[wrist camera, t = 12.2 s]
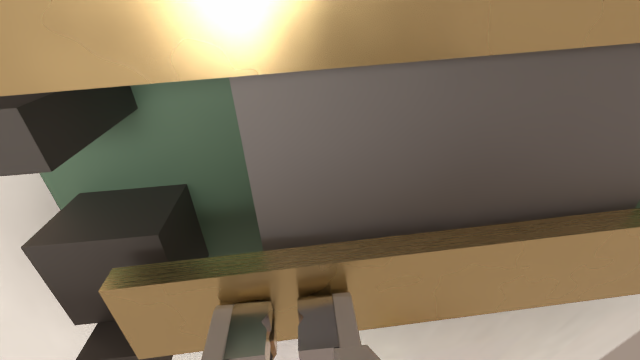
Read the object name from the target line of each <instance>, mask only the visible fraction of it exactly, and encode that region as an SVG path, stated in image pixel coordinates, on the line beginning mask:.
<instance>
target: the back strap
mask: <svg viewBox="0 0 640 360" xmlns="http://www.w3.org/2000/svg"><path fill="white" fill-rule="evenodd" d="M98 292H99V293H100V295H101V297H102V298H103V300H104V302H105V304H106V305H107V307H108V309H109V310H110V312H111V314H112V315H113V317H114V319H115V320H116V322H117V324H118V326H119V327H120V329H121V331H122V332H123V334H124V336H125V337H126V339H127V341H128V342H129V344H130V346H131V348H132V349H133V351H134V353H135V354H136V356H137V358H138V359H146V358H153V357H161V356H169V355H176V354H184V353H192V352H199V351H204V347H205V343H206V339H207V335H208V331H209V327H210V323H211V319H212V315H213V311H214V309H215V308H216V306H218V305H229V304H240V303H253V302H266V301H271V304H272V309H273V312H272V318H273V319H275V324H276V332H277V341H283V340H291V339H298V325H299V318H298V306H297V301H298V298H299V297H307V296H316V295H324V294H336V293H346V292H350V294H351V297H352V302H353V307H354V312H355V317H356V321H357V326H358V331H359V330H367V329H375V328H382V327H390V326H398V325H405V324H413V323H420V322H428V321H436V320H443V319H451V318H459V317H466V316H474V315H482V314H489V313H497V312H504V311H512V310H520V309H527V308H535V307H543V306H550V305H558V304H565V303H573V302H581V301H588V300H596V299H604V298H611V297H619V296H627V295H634V294H640V208H634V209H625V210H617V211H608V212H599V213H590V214H582V215H573V216H564V217H556V218H547V219H538V220H529V221H521V222H512V223H503V224H495V225H486V226H477V227H468V228H460V229H451V230H442V231H434V232H425V233H416V234H408V235H399V236H390V237H381V238H373V239H364V240H355V241H347V242H338V243H329V244H320V245H312V246H303V247H294V248H286V249H277V250H268V251H259V252H251V253H242V254H233V255H225V256H216V257H207V258H199V259H190V260H181V261H172V262H164V263H155V264H146V265H138V266H129V267H120V268H112V270H111V272H110V273H109V275H108V276H107V278H106V280H105V281H104V283H103V284H102V286H101V288H100V289H99V291H98Z"/></svg>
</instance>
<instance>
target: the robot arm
mask: <svg viewBox="0 0 640 360" xmlns="http://www.w3.org/2000/svg"><path fill="white" fill-rule="evenodd" d="M297 306H298V318H299V325H298V350H299V358H300V360H380V358H379V357H378V356H377V355H376V354H375V353H374V352H373V351H372V350H371V349H370V348H369V347H368V346H367V345H361V341H360V336H359V331H358V326H357V321H356V317H355V312H354V307H353V302H352V297H351V294H350V292H346V293H336V294H324V295H316V296H307V297H299V298H298V301H297ZM272 312H273V309H272V304H271V301H266V302H253V303H240V304H229V305H218V306H216V308H215V309H214V311H213V315H212V319H211V323H210V327H209V331H208V335H207V339H206V343H205V347H204V351H203V355H202V359H201V360H274V357H275V356H276V354H277V332H276V324H275V319H273V318H272Z"/></svg>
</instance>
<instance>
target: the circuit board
mask: <svg viewBox="0 0 640 360" xmlns="http://www.w3.org/2000/svg"><path fill="white" fill-rule="evenodd" d="M33 173H40V175H41V177H42V178H43V180H44V182H45V184H46V185H47V187H48V189H49V191H50V192H51V194H52V196H53V198H54V199H55V201H56V203H57V205H58V206H59V208H60V210H61V211H60V212H59V213H57V214H56V215H55V216H54V217H53V218H52V219H51V220H50V221H49V222H48V223H47V224H46V225H44V226H43V227H42V228H41V229H40V230H39V231H38V232H37V233H36V234H35V235H34V236H33V237H32V238H30V239H29V240H28V241H27V242H26V243H25V244H24V245H23V246H22V247H21V249H22V250H23V252H24V253H25V254H26V256H27V257H28V259H29V260H30V262H31V263H32V264H33V266H34V267H35V269H36V270H37V272H38V273H39V274H40V276H41V277H42V279H43V280H44V282H45V283H46V284H47V286H48V287H49V289H50V290H51V292H52V293H53V295H54V296H55V297H56V299H57V300H58V302H59V303H60V305H61V306H62V307H63V309H64V310H65V312H66V313H67V315H68V316H69V317H70V319H71V320H72V322H73V323H74V325H81V324H91V323H98V324H97V325H96V327H95V329H94V330H93V332H92V334H91V335H90V337H89V339H88V340H87V342H86V344H85V345H84V347H83V349H82V350H81V352H80V354H79V355H78V357H77V359H76V360H172V357H173V355H169V356H161V357H153V358H146V359H138V358H137V356H136V354H135V353H134V351H133V349H132V348H131V346H130V344H129V342H128V341H127V339H126V337H125V336H124V334H123V332H122V331H121V329H120V327H119V326H118V324H117V322H116V320H115V319H114V317H113V315H112V314H111V312H110V310H109V309H108V307H107V305H106V304H105V302H104V300H103V298H102V297H101V295H100V293H99V292H98V291H99V289H100V288H101V286H102V284H103V283H104V281H105V280H106V278H107V276H108V275H109V273H110V272H111V270H112V268H120V267H129V266H138V265H146V264H155V263H164V262H172V261H181V260H190V259H199V258H207V257H216V256H225V255H233V254H242V253H251V252H259V251H268V250H277V249H286V248H294V247H303V246H312V245H320V244H329V243H338V242H347V241H355V240H364V239H373V238H381V237H390V236H399V235H408V234H416V233H425V232H434V231H442V230H451V229H460V228H468V227H477V226H486V225H495V224H503V223H512V222H521V221H529V220H538V219H547V218H556V217H564V216H573V215H582V214H590V213H599V212H608V211H617V210H625V209H634V208H640V43H632V44H620V45H608V46H596V47H585V48H573V49H561V50H549V51H537V52H525V53H513V54H501V55H489V56H477V57H465V58H453V59H441V60H429V61H417V62H405V63H393V64H381V65H369V66H357V67H345V68H333V69H321V70H309V71H297V72H285V73H274V74H262V75H250V76H238V77H226V78H214V79H202V80H190V81H178V82H166V83H154V84H142V85H130V86H118V87H106V88H94V89H82V90H70V91H58V92H46V93H34V94H22V95H10V96H0V176H9V175H21V174H33Z"/></svg>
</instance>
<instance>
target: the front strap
mask: <svg viewBox="0 0 640 360" xmlns="http://www.w3.org/2000/svg"><path fill="white" fill-rule="evenodd" d="M632 43H640V0H0V96H10V95H22V94H34V93H46V92H58V91H70V90H82V89H94V88H106V87H118V86H130V85H142V84H154V83H166V82H178V81H190V80H202V79H214V78H226V77H238V76H250V75H262V74H274V73H285V72H297V71H309V70H321V69H333V68H345V67H357V66H369V65H381V64H393V63H405V62H417V61H429V60H441V59H453V58H465V57H477V56H489V55H501V54H513V53H525V52H537V51H549V50H561V49H573V48H585V47H596V46H608V45H620V44H632Z"/></svg>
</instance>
